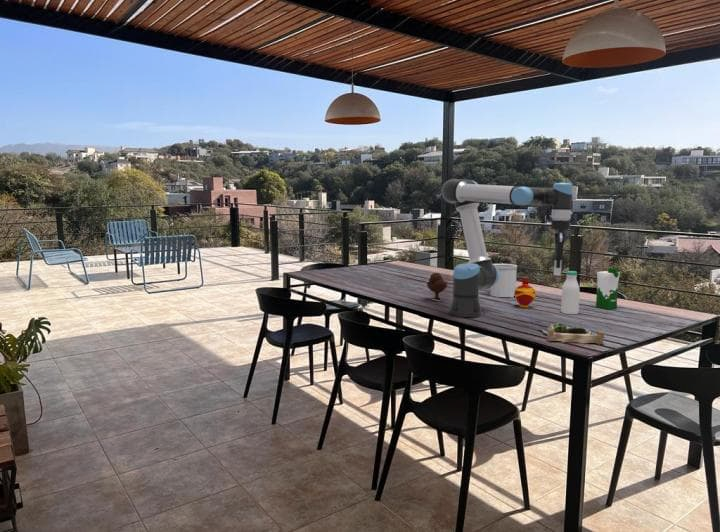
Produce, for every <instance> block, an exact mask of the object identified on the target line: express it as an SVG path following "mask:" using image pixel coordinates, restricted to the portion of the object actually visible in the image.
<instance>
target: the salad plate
mask: <svg viewBox="0 0 720 532" xmlns="http://www.w3.org/2000/svg"><path fill="white" fill-rule="evenodd" d="M537 329H539V330H541V331H542V333H544V334H546V335H547V329H553V333H569V334H590V335H593V332H592V331H591V330H588V329H587V328H583V327H581V326H572V327H570V326H566V325H564V324H563V323H558V322H557V323H555V324H550V326H548V327H545V326H544V327H543V326H537Z"/></svg>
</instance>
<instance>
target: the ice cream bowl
mask: <svg viewBox="0 0 720 532" xmlns="http://www.w3.org/2000/svg"><path fill="white" fill-rule="evenodd" d="M426 286H427V288H428V289H429V291H431V292H433V293H434V294H435V295H434V297H432V299H436V300H440V299H441V297H439V294H440V293H441V292H443V291H444V290H446V289H447V286H448V282H446V281H445V280H444V278H443V276H442V274H440V273H439V272H433V273H431V275H430V277H429V279H428V281H427V282H426Z"/></svg>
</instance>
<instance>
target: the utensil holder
mask: <svg viewBox="0 0 720 532" xmlns="http://www.w3.org/2000/svg"><path fill="white" fill-rule="evenodd" d="M492 264H493V265H494V266H495V267H497V269H498V272H499V278H498V281H497V283H496V284H495V285H494V286H492V287H490V288H489V290H490V291H489V295H490V296H491V295H492V296H491V297H493V296H497V297H496V298H499V297H511V298H515V297H514V295H515V294H514V293H515V289H516V288H517V268H518V265H517V264H510V263H492Z"/></svg>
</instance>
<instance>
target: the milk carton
mask: <svg viewBox="0 0 720 532" xmlns="http://www.w3.org/2000/svg"><path fill="white" fill-rule="evenodd" d="M620 275H621V272H618V268H615V267H609V268H607V271H606V270H604V271H597V272H596V277H597V280H596V281H597V282H596V283H597V284H596V297H595V299H596V301H595V308H599V309H604V310H615V309H617V308H618V292H619V280H620Z"/></svg>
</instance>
